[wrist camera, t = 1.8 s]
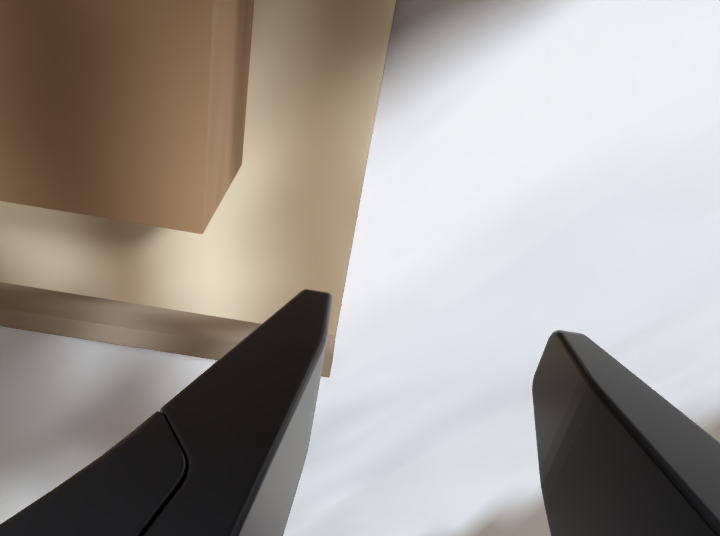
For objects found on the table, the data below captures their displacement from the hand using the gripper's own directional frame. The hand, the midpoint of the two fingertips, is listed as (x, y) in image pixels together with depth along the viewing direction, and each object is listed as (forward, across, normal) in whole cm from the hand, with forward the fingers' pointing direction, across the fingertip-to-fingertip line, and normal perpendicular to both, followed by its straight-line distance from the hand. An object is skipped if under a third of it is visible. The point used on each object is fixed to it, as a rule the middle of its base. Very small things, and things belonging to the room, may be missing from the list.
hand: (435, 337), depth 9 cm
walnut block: (+12, +8, 0) cm, 15 cm away
